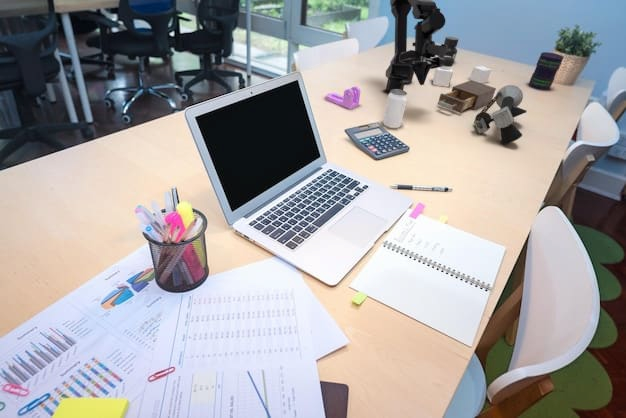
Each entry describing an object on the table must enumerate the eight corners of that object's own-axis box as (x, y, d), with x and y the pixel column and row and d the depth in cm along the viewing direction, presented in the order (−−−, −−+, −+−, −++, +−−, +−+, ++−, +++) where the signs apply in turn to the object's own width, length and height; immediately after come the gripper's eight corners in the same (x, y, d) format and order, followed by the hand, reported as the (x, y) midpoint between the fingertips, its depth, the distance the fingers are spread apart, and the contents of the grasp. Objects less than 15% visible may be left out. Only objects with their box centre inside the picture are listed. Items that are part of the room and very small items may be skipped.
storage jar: (523, 83, 193) (536, 52, 184) (539, 83, 196) (552, 52, 187) (538, 90, 185) (552, 58, 176) (554, 90, 188) (568, 58, 179)
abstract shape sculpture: (489, 126, 160) (479, 154, 137) (476, 99, 157) (464, 122, 134) (530, 110, 150) (526, 136, 128) (517, 80, 147) (510, 102, 125)
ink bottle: (456, 64, 210) (463, 41, 203) (440, 63, 210) (446, 39, 203) (451, 59, 218) (457, 36, 211) (435, 58, 218) (441, 35, 211)
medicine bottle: (448, 87, 179) (456, 60, 172) (433, 85, 180) (440, 58, 172) (447, 82, 184) (455, 56, 177) (432, 80, 185) (439, 54, 178)
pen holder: (389, 82, 178) (394, 59, 172) (394, 76, 185) (398, 54, 179) (410, 86, 175) (415, 63, 170) (413, 80, 183) (418, 58, 177)
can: (402, 123, 141) (410, 91, 134) (398, 130, 136) (405, 97, 129) (385, 119, 143) (392, 87, 136) (380, 125, 138) (386, 92, 131)
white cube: (477, 78, 194) (481, 65, 190) (487, 82, 190) (491, 69, 186) (469, 79, 191) (473, 66, 188) (478, 83, 187) (482, 70, 184)
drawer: (454, 115, 149) (458, 105, 146) (431, 106, 155) (434, 96, 152) (478, 105, 160) (481, 95, 158) (455, 97, 166) (458, 87, 163)
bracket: (358, 105, 152) (361, 87, 148) (349, 109, 148) (352, 91, 144) (332, 95, 158) (334, 78, 154) (323, 98, 155) (325, 81, 150)
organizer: (473, 110, 158) (478, 95, 154) (448, 100, 164) (452, 86, 161) (491, 102, 167) (496, 88, 164) (466, 93, 174) (471, 80, 170)
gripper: (425, 27, 125) (423, 77, 127) (459, 38, 136) (457, 84, 138) (398, 36, 134) (397, 83, 136) (432, 46, 145) (431, 89, 147)
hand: (421, 84), depth 139 cm, fingers closed
